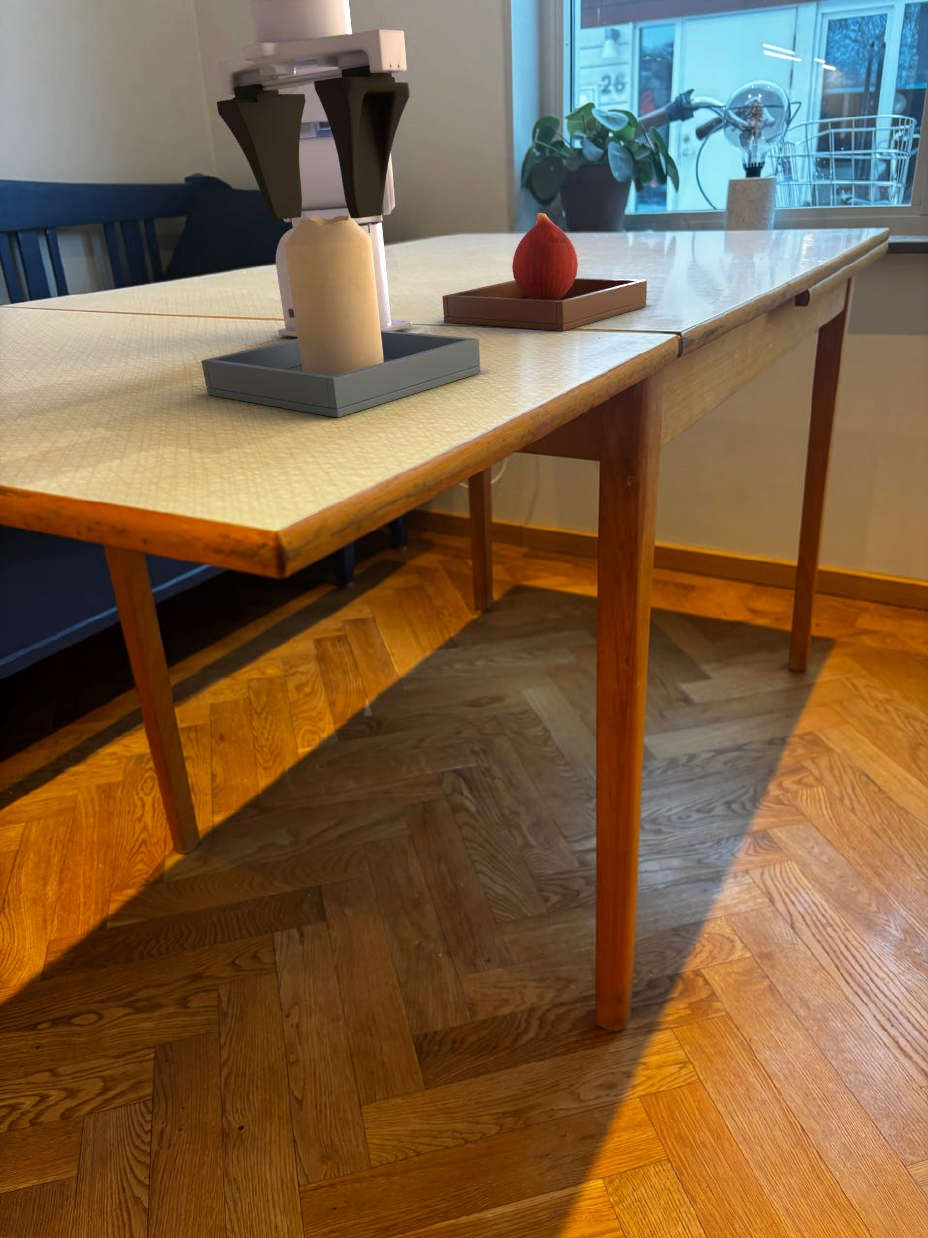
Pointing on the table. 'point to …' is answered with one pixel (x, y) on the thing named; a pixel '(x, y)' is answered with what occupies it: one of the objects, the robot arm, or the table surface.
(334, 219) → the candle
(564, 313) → the walnut tray
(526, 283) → the onion
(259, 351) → the gray tray
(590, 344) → the table surface
